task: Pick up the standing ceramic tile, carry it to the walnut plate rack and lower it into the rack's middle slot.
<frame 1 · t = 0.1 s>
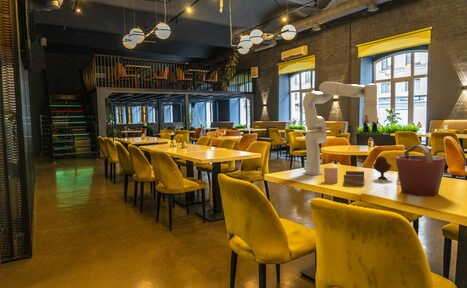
hand: (370, 132, 200), 31 cm above the table, tool pointing down, fingers open, 9 cm apart
ice cream bowl: (382, 179, 211), on the table
tile: (331, 181, 206), on the table
bucket: (420, 193, 169), on the table
rack: (354, 182, 201), on the table
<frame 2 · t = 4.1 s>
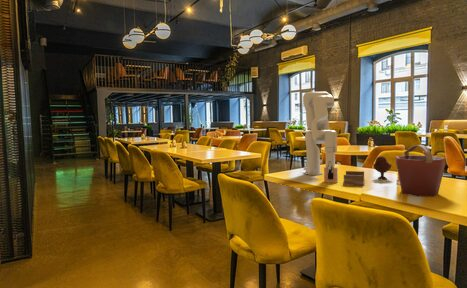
hand: (330, 178, 206), 2 cm above the table, tool pointing down, fingers closed on tile, 3 cm apart
tile: (330, 181, 206), on the table, touching gripper
everything else where it was.
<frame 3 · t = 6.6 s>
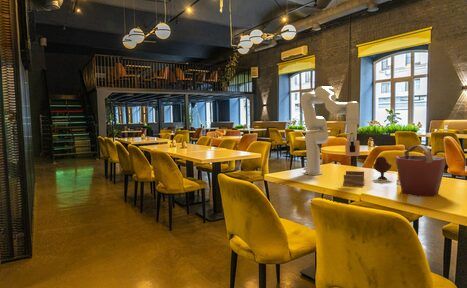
hand: (352, 151, 199), 20 cm above the table, tool pointing down, fingers closed on tile, 3 cm apart
tile: (352, 155, 200), point 17 cm above the table, touching gripper
everything else where it was.
when the fingers open (5 cm above the table, at t = 9.5 s): tile drops 2 cm, resting on rack.
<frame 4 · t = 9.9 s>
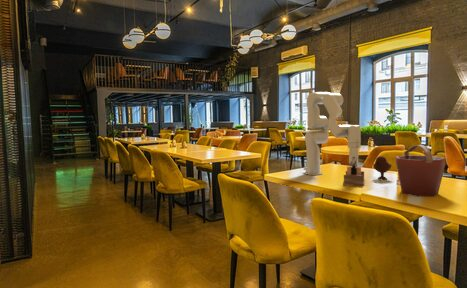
hand: (354, 173, 200), 6 cm above the table, tool pointing down, fingers open, 7 cm apart
tile: (354, 181, 201), point 1 cm above the table, touching rack
everything else where it was.
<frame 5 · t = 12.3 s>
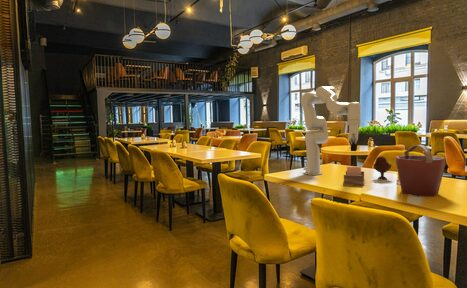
hand: (354, 150, 199), 20 cm above the table, tool pointing down, fingers open, 9 cm apart
nothing on the table moved.
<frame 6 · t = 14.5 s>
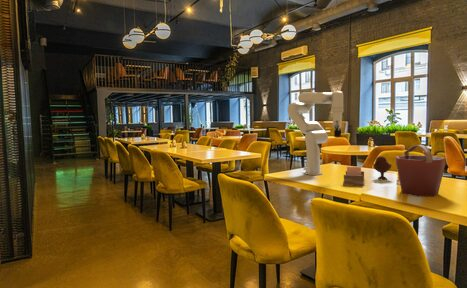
hand: (337, 136, 215), 28 cm above the table, tool pointing down, fingers open, 9 cm apart
nothing on the table moved.
at the end: tile 0.1 cm off-centre on the rack, point 1.0 cm above the rack's base; tile tilted 0°; the gripper is holding nothing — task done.
